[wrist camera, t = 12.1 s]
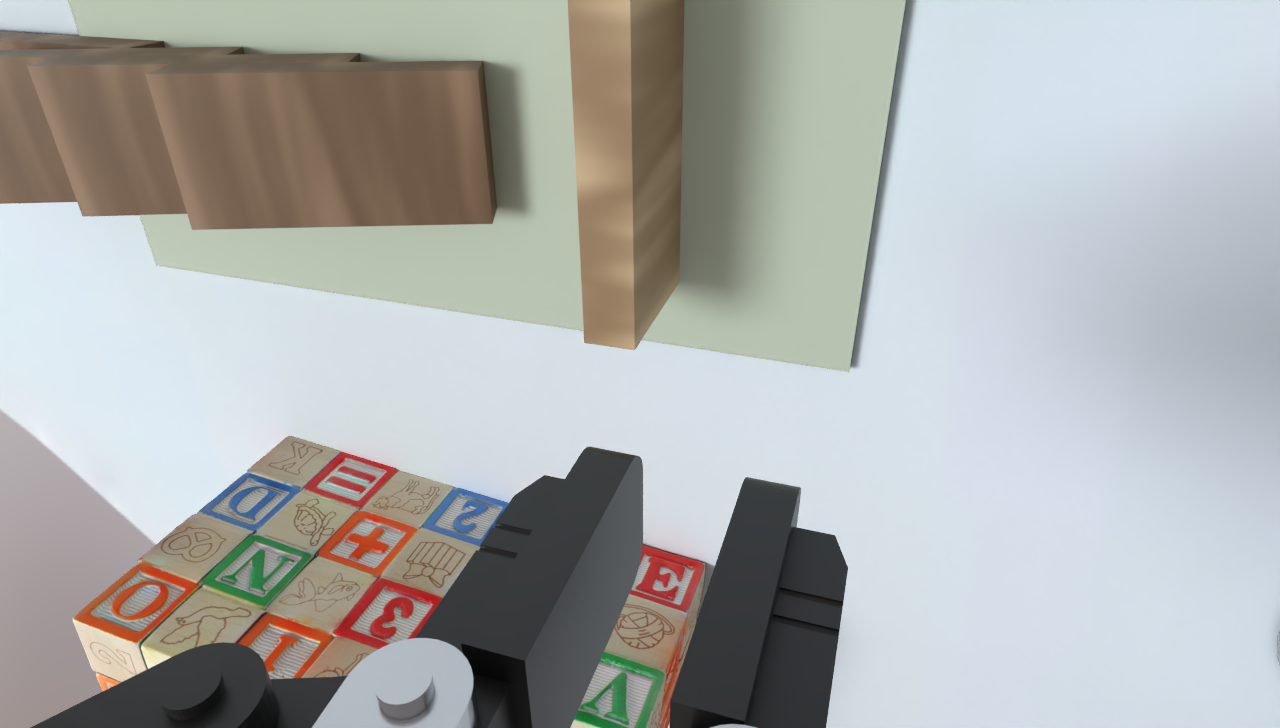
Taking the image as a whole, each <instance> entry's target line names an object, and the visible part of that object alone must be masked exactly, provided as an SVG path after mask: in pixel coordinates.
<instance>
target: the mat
mask: <svg viewBox="0 0 1280 728" xmlns="http://www.w3.org/2000/svg"><path fill="white" fill-rule="evenodd" d="M68 2H69V5H70V8H71V11H72V14H73V17H74V20H75V23H76V26H77V29H78V32H79V35H80V36H91V37H107V38H124V39H140V40H156V41H164V44H165V48H178V47H243V50H244V54H319V53H359V54H360V60H361V62H412V61H483V63H484V74H485V84H486V95H487V105H488V116H489V126H490V137H491V148H492V158H493V169H494V179H495V190H496V200H497V210H496V214H495V217H494V221H493V224H461V225H411V226H361V227H311V228H261V229H211V230H192V228H191V225H190V222H189V218H188V215H187V214H159V215H140V218H141V221H142V224H143V227H144V230H145V233H146V236H147V239H148V242H149V245H150V248H151V251H152V254H153V257H154V260H155V263H156V265H157V266H164V267H170V268H177V269H183V270H190V271H196V272H203V273H209V274H216V275H222V276H229V277H235V278H242V279H248V280H255V281H261V282H268V283H274V284H281V285H287V286H294V287H300V288H307V289H313V290H320V291H326V292H333V293H339V294H346V295H352V296H359V297H365V298H372V299H378V300H385V301H391V302H398V303H404V304H411V305H417V306H424V307H430V308H437V309H443V310H450V311H456V312H463V313H469V314H476V315H482V316H489V317H495V318H502V319H508V320H515V321H521V322H528V323H534V324H541V325H547V326H554V327H560V328H567V329H573V330H580V331H584V325H583V305H582V284H581V264H580V243H579V223H578V202H577V182H576V162H575V141H574V121H573V100H572V80H571V59H570V39H569V19H568V0H68ZM905 4H906V0H685V2H684V56H683V110H682V164H681V218H680V272H679V284H678V285H677V287H676V288H675V290H674V291H673V293H672V294H671V296H670V297H669V299H668V300H667V302H666V303H665V305H664V306H663V308H662V309H661V311H660V312H659V314H658V315H657V317H656V318H655V320H654V322H653V323H652V325H651V326H650V328H649V329H648V331H647V332H646V334H645V335H644V337H643V338H642V340H645V341H651V342H658V343H664V344H671V345H677V346H684V347H690V348H697V349H703V350H710V351H716V352H723V353H729V354H736V355H742V356H749V357H755V358H762V359H768V360H775V361H781V362H788V363H794V364H801V365H807V366H814V367H820V368H827V369H833V370H840V371H846V372H849V371H850V365H851V358H852V352H853V345H854V339H855V332H856V326H857V319H858V313H859V306H860V299H861V293H862V286H863V280H864V273H865V267H866V260H867V253H868V247H869V240H870V234H871V227H872V221H873V214H874V207H875V201H876V194H877V188H878V181H879V175H880V168H881V162H882V155H883V148H884V142H885V135H886V129H887V122H888V116H889V109H890V102H891V96H892V89H893V83H894V76H895V70H896V63H897V56H898V50H899V43H900V37H901V30H902V24H903V17H904V10H905Z"/></svg>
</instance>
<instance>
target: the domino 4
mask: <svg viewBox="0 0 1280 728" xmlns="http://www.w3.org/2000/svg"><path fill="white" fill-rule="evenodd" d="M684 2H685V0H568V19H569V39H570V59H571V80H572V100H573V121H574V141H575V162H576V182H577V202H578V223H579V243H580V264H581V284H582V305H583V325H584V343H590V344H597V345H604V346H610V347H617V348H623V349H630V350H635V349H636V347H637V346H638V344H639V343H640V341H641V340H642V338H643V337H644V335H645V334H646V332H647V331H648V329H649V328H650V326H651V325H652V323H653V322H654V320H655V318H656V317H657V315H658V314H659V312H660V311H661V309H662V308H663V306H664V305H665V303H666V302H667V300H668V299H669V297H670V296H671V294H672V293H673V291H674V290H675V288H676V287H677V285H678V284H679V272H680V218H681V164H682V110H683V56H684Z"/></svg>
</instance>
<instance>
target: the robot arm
mask: <svg viewBox="0 0 1280 728" xmlns="http://www.w3.org/2000/svg"><path fill="white" fill-rule="evenodd" d="M800 494H801V488H800V487H795V486H789V485H784V484H779V483H774V482H769V481H764V480H758V479H753V478H748V477H746V478H745V479H744V482H743V484H742V487H741V490H740V493H739V496H738V499H737V502H736V505H735V508H734V511H733V514H732V517H731V520H730V523H729V526H728V529H727V532H726V535H725V538H724V541H723V544H722V547H721V550H720V553H719V556H718V559H717V562H716V565H715V568H714V571H713V574H712V577H711V580H710V583H709V586H708V589H707V592H706V595H705V598H704V601H703V604H702V607H701V610H700V613H699V616H698V619H697V622H696V625H695V629H694V632H693V635H692V638H691V641H690V644H689V647H688V650H687V653H686V656H685V659H684V662H683V665H682V668H681V671H680V674H679V677H678V680H677V683H676V686H675V689H674V692H673V695H672V698H671V701H670V728H826V723H827V715H828V708H829V701H830V694H831V686H832V679H833V672H834V665H835V658H836V650H837V643H838V635H839V629H840V621H841V614H842V606H843V600H844V592H845V585H846V578H847V571H848V567H847V565H846V562H845V560H844V557H843V555H842V552H841V550H840V547H839V545H838V542H837V540H836V537H835V535H830V534H825V533H820V532H816V531H811V530H806V529H801V528H796V527H797V519H798V511H799V503H800ZM642 545H643V465H642V460H641V458H640V457H639V456H635V455H630V454H625V453H620V452H615V451H609V450H604V449H599V448H594V447H587V448H586V449H584V450H583V452H582V453H581V455H580V456H579V458H578V459H577V461H576V463H575V464H574V466H573V467H572V469H571V471H570V472H569V474H568V475H567V477H566V478H565V479H560V478H555V477H550V476H546V475H544V476H543V477H541V478H540V479H538V480H537V481H535V482H534V483H532V484H531V485H529V486H528V487H526V488H525V489H524V490H522V491H521V492H519V493H518V494H516V495H515V496H514V497H513V498H512V500H511V501H510V503H509V504H508V506H507V507H506V508H505V510H504V511H503V513H502V514H501V516H500V517H499V519H498V520H497V521H496V525H495V528H492V529H491V530H490V531H489V533H488V534H487V536H486V537H485V539H484V540H483V541H482V543H481V544H480V549H479V551H478V550H476V551H475V553H474V554H473V556H472V557H471V559H470V560H469V561H468V563H467V564H466V566H465V567H464V569H463V570H462V571H461V573H460V574H459V576H458V577H457V579H456V580H455V581H454V583H453V584H452V586H451V587H450V589H449V590H448V591H447V593H446V594H445V596H444V597H443V599H442V600H441V601H440V603H439V604H438V606H437V607H436V609H435V610H434V611H433V613H432V614H431V616H430V617H429V619H428V620H427V621H426V623H425V624H424V626H423V627H422V629H421V630H420V631H419V633H418V634H417V635H416V637H415V638H413V639H405V640H401V641H398V642H394V643H391V644H389V645H386V646H384V647H382V648H380V649H378V650H376V651H375V652H373V653H371V654H370V655H369V656H367V657H366V658H364V659H363V660H362V661H361V662H360V663H359V664H358V665H357V666H356V667H355V668H354V669H353V670H352V671H351V672H350V674H349V675H346V676H337V677H318V678H287V679H270V677H269V674H268V672H267V669H266V666H265V664H264V661H263V659H262V658H261V657H260V655H259V654H258V653H257V652H255V651H254V650H253V649H251V648H249V647H247V646H244V645H241V644H236V643H226V642H222V643H211V644H206V645H202V646H198V647H195V648H192V649H189V650H186V651H184V652H182V653H179V654H177V655H175V656H173V657H171V658H169V659H167V660H165V661H163V662H161V663H159V664H157V665H155V666H153V667H151V668H149V669H147V670H145V671H143V672H141V673H139V674H137V675H135V676H133V677H131V678H129V679H127V680H125V681H123V682H121V683H119V684H117V685H115V686H113V687H111V688H109V689H107V690H105V691H103V692H101V693H99V694H97V695H95V696H93V697H91V698H89V699H87V700H85V701H83V702H81V703H79V704H77V705H75V706H73V707H71V708H69V709H67V710H65V711H63V712H61V713H59V714H57V715H55V716H53V717H51V718H49V719H47V720H46V721H43V722H41V723H39V724H37V725H35V726H33V727H31V728H570V727H571V725H572V723H573V721H574V718H575V716H576V714H577V712H578V709H579V707H580V705H581V702H582V700H583V698H584V696H585V693H586V691H587V689H588V687H589V684H590V682H591V680H592V678H593V675H594V673H595V671H596V668H597V666H598V664H599V662H600V659H601V657H602V655H603V653H604V650H605V648H606V646H607V643H608V641H609V639H610V637H611V634H612V632H613V630H614V628H615V625H616V623H617V621H618V619H619V616H620V614H621V612H622V609H623V607H624V605H625V603H626V600H627V598H628V596H629V594H630V591H631V589H632V587H633V584H634V582H635V579H636V575H637V572H638V568H639V564H640V559H641V553H642ZM1277 658H1278V661H1279V664H1280V631H1279V634H1278V637H1277Z"/></svg>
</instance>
